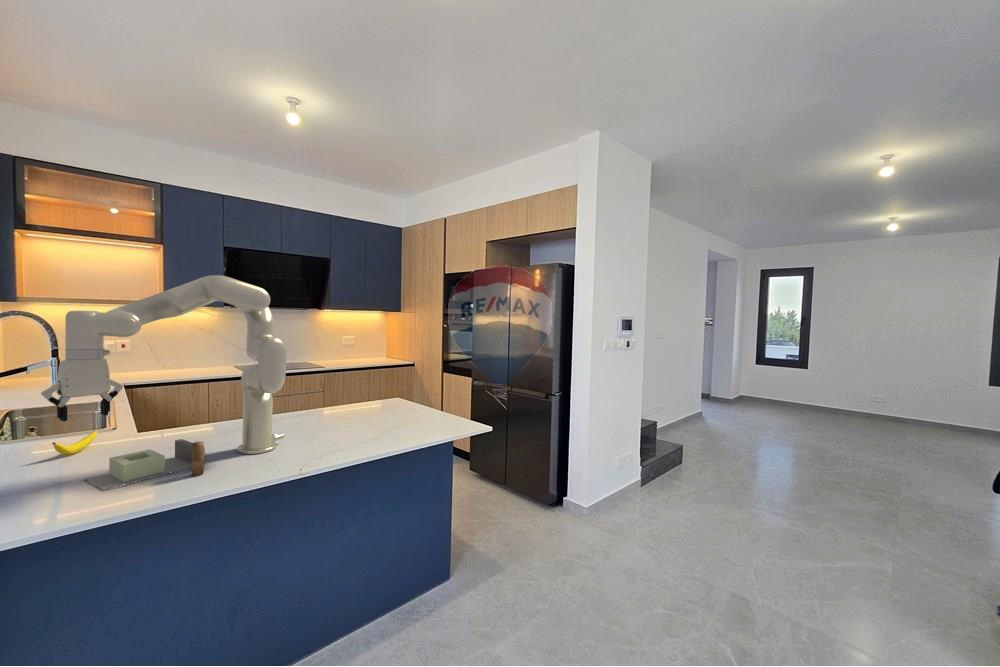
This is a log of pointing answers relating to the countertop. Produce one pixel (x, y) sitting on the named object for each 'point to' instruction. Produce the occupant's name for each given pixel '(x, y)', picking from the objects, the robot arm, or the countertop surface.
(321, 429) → the countertop surface
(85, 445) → the banana
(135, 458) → the socket block
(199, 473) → the dowel
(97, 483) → the grey l-shaped plate
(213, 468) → the countertop surface
